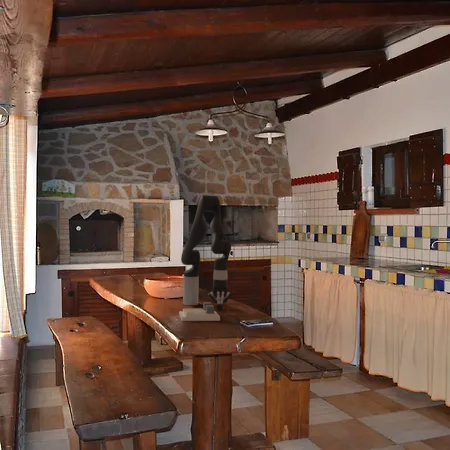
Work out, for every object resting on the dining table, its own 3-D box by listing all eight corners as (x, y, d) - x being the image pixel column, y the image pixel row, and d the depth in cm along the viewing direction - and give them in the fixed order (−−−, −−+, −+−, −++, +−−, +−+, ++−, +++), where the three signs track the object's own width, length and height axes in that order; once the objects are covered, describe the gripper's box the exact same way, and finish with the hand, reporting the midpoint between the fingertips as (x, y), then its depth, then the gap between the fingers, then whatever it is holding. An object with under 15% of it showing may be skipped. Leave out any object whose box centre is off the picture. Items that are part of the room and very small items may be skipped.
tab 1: (203, 311, 300) (203, 302, 300) (210, 311, 301) (210, 302, 301) (204, 312, 296) (204, 303, 296) (211, 312, 297) (211, 303, 297)
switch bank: (179, 314, 300) (179, 308, 299) (215, 314, 303) (215, 308, 303) (181, 321, 284) (182, 314, 284) (220, 320, 287) (220, 313, 287)
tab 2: (205, 314, 291) (205, 305, 291) (212, 314, 292) (213, 305, 292) (206, 316, 287) (206, 306, 287) (214, 315, 288) (214, 306, 288)
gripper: (231, 277, 295) (230, 309, 296) (207, 277, 293) (206, 309, 293) (233, 279, 288) (233, 312, 288) (209, 279, 285) (208, 312, 286)
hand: (219, 310), depth 291 cm, fingers closed
